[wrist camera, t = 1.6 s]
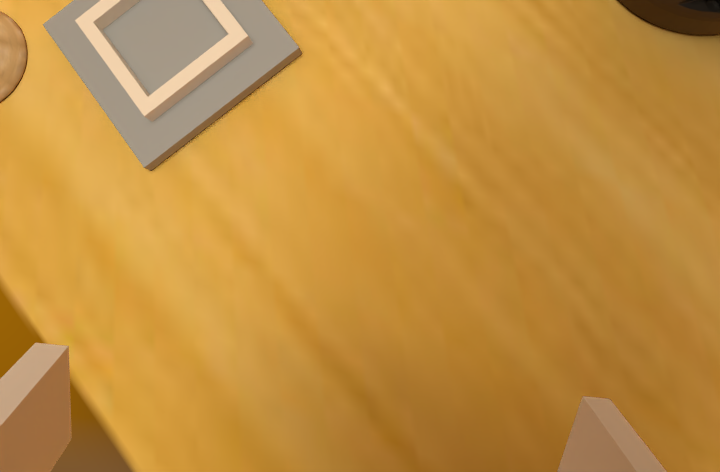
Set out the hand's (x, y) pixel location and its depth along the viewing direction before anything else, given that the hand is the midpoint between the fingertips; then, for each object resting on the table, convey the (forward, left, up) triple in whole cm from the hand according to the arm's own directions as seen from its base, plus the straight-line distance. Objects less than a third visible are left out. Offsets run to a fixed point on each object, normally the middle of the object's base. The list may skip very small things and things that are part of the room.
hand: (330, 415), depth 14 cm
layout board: (-1, -27, -23) cm, 36 cm away
